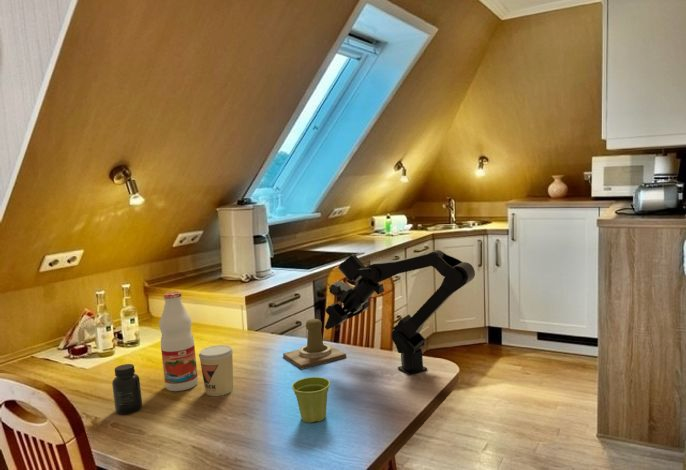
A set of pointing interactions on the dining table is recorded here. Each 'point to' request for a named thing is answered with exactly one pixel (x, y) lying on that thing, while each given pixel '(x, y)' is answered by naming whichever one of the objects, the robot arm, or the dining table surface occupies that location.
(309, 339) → the olive brown pestle
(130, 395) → the supplement bottle
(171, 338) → the fruit juice
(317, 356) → the ring board
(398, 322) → the robot arm
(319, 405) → the plant pot
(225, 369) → the white canister
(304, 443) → the dining table surface
